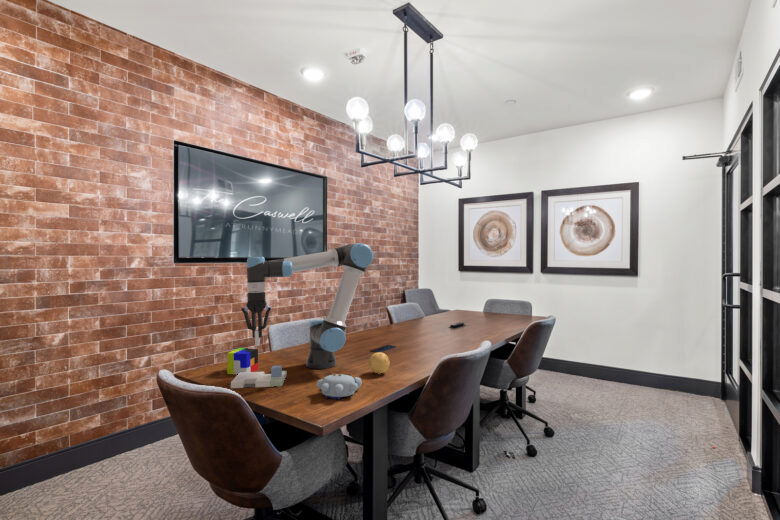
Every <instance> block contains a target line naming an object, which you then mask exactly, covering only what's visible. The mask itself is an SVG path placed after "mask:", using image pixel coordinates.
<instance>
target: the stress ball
mask: <svg viewBox="0 0 780 520" xmlns="http://www.w3.org/2000/svg"><path fill="white" fill-rule="evenodd" d="M390 365H391V362H390V359H389V357H388V355H387V354H385V352H381V351H379V352H378V351H377V352H374V353H372V355H371V356H370V358H369V359H368V366H369V369H370V370H371V371H372V372H373V373H375V374H376V373H378V374H377V375H382V374H383V373H385V372H387V370H388V369H390ZM381 373H382V374H381Z"/></svg>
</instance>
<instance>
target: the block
mask: <svg viewBox="0 0 780 520" xmlns="http://www.w3.org/2000/svg"><path fill="white" fill-rule="evenodd" d="M282 371H283V365H282V364H280V365H272V366H271V368H270V374H271V377H281V375H282Z"/></svg>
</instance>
